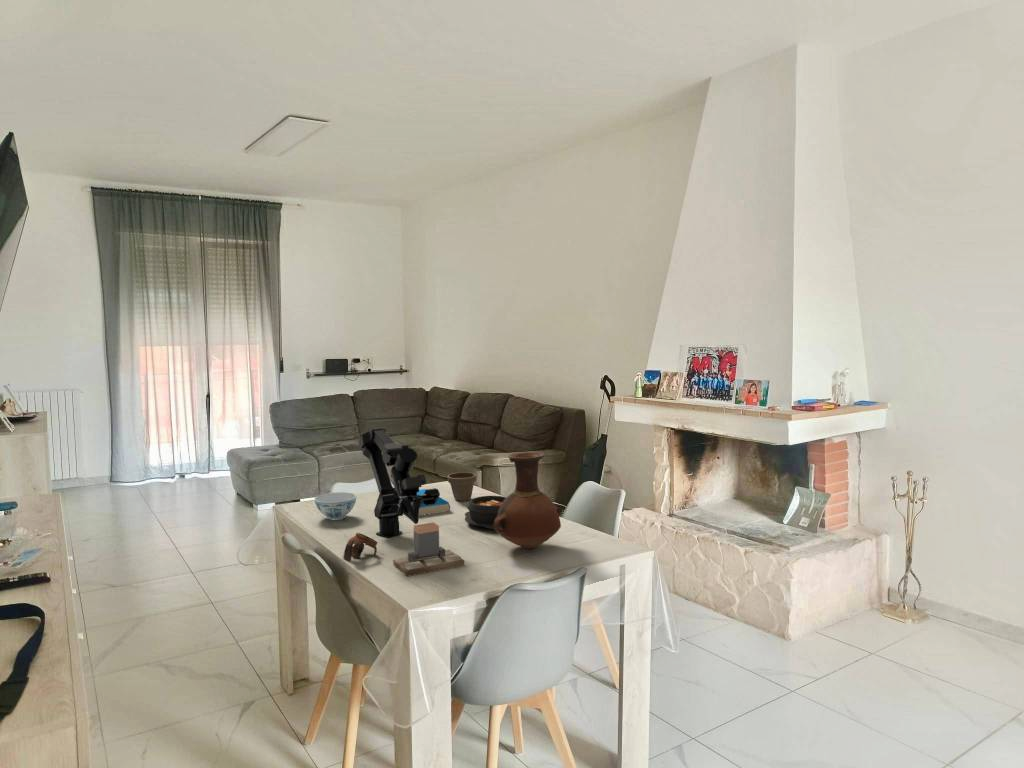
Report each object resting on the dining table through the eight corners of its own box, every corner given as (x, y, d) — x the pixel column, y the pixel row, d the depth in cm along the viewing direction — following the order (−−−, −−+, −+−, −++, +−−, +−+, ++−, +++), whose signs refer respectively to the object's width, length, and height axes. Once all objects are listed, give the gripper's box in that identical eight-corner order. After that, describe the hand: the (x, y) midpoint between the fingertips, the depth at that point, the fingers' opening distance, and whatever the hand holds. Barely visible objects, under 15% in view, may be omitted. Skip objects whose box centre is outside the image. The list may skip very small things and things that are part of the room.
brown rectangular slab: (393, 564, 207) (393, 552, 207) (449, 554, 216) (449, 542, 216) (406, 576, 198) (406, 563, 197) (464, 565, 206) (464, 552, 206)
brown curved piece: (342, 554, 218) (354, 530, 220) (370, 567, 219) (382, 542, 220) (337, 557, 207) (350, 531, 208) (366, 571, 207) (379, 545, 209)
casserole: (531, 528, 242) (531, 505, 241) (482, 537, 233) (482, 512, 232) (498, 511, 264) (498, 490, 263) (453, 518, 255) (452, 496, 254)
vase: (535, 533, 236) (535, 445, 234) (578, 547, 221) (578, 453, 219) (478, 549, 220) (476, 455, 218) (519, 565, 205) (518, 464, 203)
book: (407, 508, 257) (385, 493, 279) (408, 519, 257) (386, 503, 279) (450, 502, 265) (426, 487, 287) (450, 513, 265) (426, 498, 287)
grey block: (413, 557, 208) (412, 525, 207) (434, 553, 211) (434, 522, 210) (418, 561, 205) (417, 529, 204) (440, 557, 208) (439, 525, 207)
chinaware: (307, 521, 253) (306, 500, 252) (329, 511, 267) (328, 491, 267) (343, 524, 249) (343, 503, 248) (364, 513, 263) (363, 493, 262)
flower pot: (452, 504, 275) (452, 479, 274) (444, 497, 286) (444, 473, 285) (480, 501, 279) (480, 476, 278) (471, 494, 290) (471, 470, 289)
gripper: (380, 469, 212) (393, 513, 204) (437, 462, 221) (452, 504, 213) (372, 490, 220) (385, 533, 211) (428, 482, 229) (442, 524, 220)
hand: (416, 523), depth 213 cm, fingers closed
